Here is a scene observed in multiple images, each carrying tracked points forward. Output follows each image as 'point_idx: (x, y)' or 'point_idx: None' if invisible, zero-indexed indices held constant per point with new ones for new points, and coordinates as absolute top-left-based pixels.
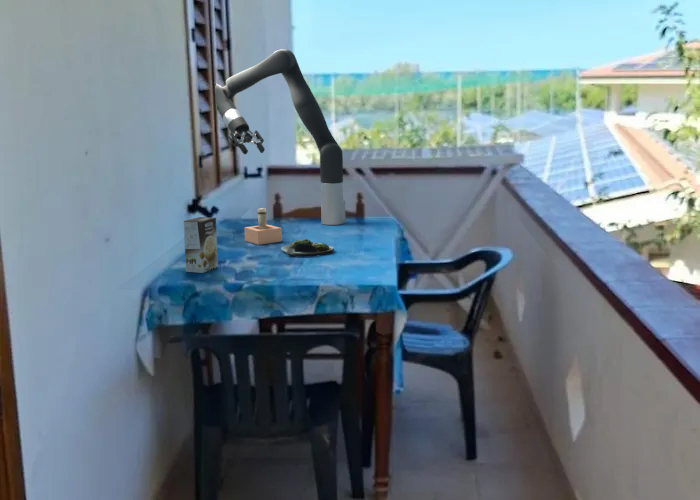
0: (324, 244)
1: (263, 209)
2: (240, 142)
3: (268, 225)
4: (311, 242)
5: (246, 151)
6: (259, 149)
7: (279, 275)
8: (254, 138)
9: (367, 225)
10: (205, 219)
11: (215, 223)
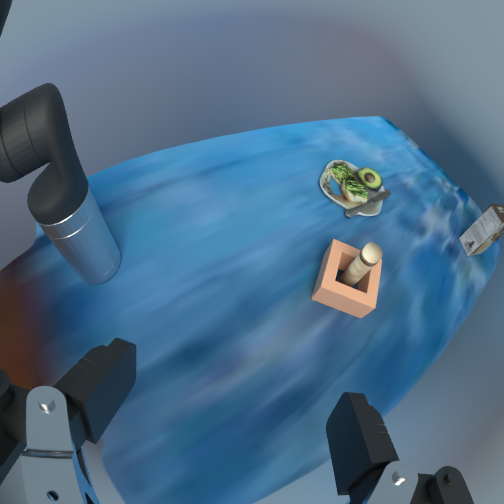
0: (341, 165)
1: (375, 244)
2: (415, 476)
3: (329, 277)
4: (345, 180)
5: (360, 394)
6: (115, 403)
7: (428, 177)
8: (79, 480)
9: (107, 199)
10: (499, 207)
11: (488, 207)
